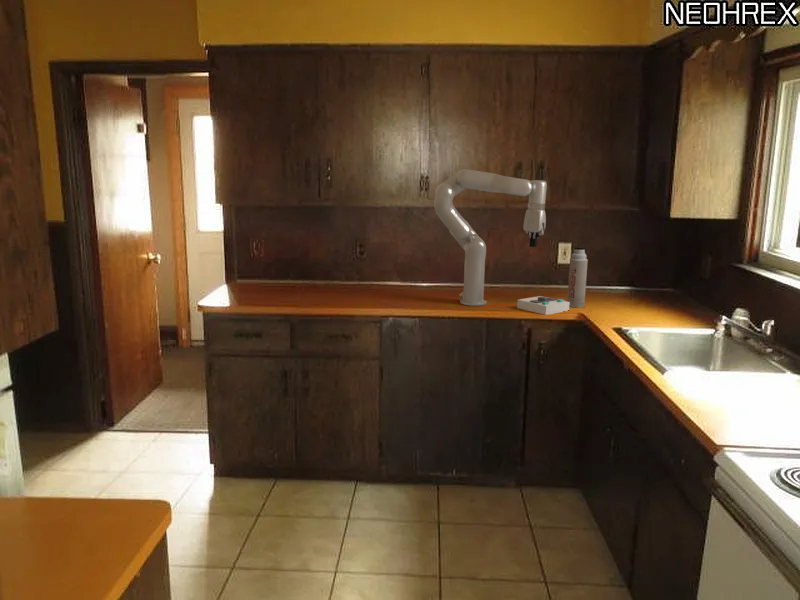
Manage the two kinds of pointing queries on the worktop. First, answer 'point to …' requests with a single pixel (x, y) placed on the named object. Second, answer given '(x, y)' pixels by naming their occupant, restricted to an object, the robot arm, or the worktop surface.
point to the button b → (543, 299)
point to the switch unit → (543, 306)
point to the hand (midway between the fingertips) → (533, 246)
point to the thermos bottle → (577, 278)
